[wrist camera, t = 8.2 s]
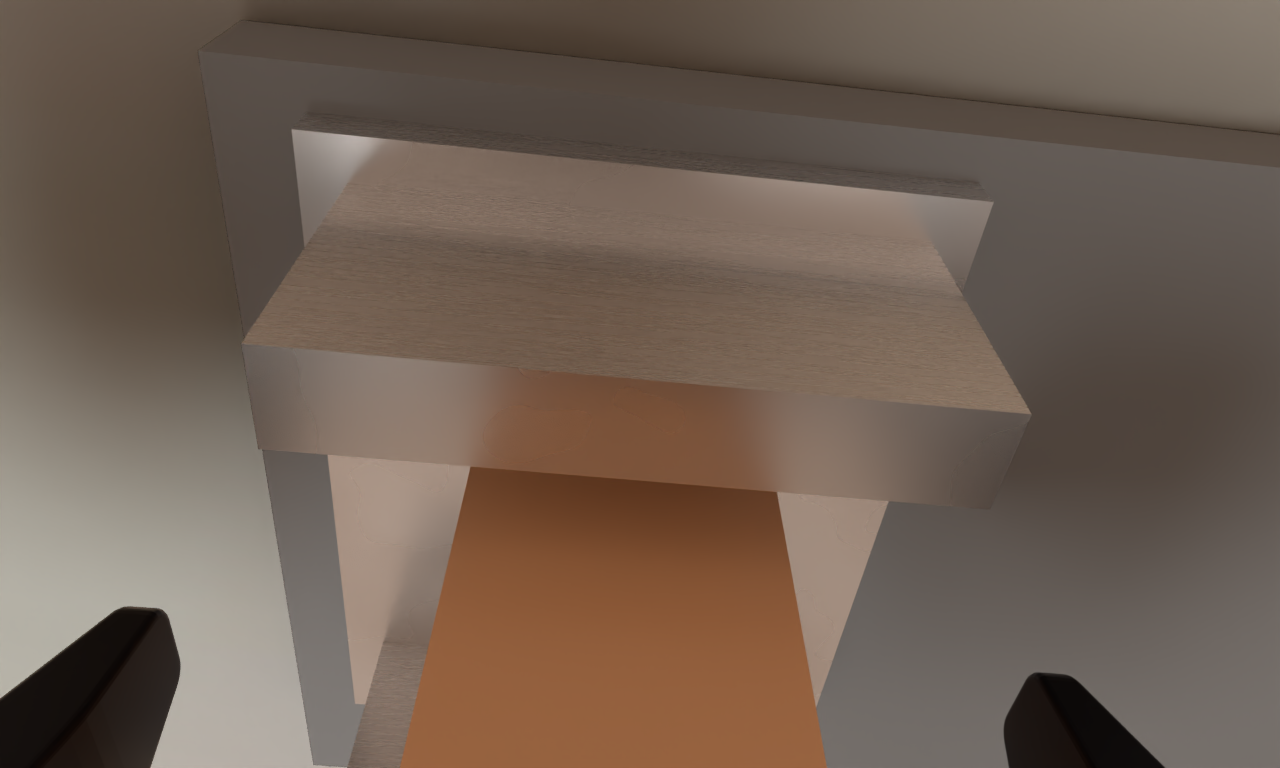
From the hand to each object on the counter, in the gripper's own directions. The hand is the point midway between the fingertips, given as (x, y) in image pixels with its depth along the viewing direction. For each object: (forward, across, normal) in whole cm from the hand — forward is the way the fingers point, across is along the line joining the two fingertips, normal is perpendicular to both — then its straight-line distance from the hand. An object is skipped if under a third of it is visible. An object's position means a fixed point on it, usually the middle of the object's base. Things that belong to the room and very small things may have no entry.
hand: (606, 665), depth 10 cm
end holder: (+3, 0, 0) cm, 3 cm away
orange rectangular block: (+2, 0, 0) cm, 3 cm away
